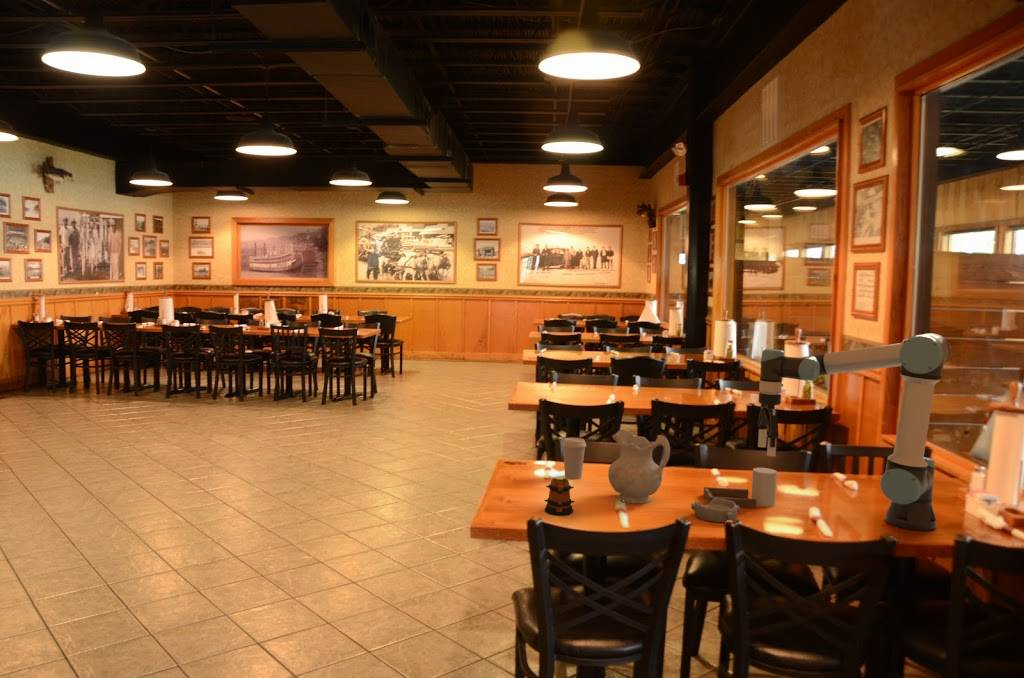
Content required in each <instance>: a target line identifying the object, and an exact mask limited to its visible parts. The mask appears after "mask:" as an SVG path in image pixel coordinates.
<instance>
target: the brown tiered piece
mask: <svg viewBox="0 0 1024 678" xmlns="http://www.w3.org/2000/svg"><path fill="white" fill-rule="evenodd" d="M545 487H546V488H548V489H549V493H548V497H547V499H544V502H547V503H546V505H545V507H544V512H545V514H548V515H550V516H556V517H565V516H567V517H568V516H571V515H573V514H574V508H573V506H572V503H575V501H574V500H572V499H571V492H570V491H571V490H572V489H574V488H575V486H571V485H570V481H569V479H568V478H562V479H561V478H560V479H558V478H555V477H553V478H551V481H550V484H548V485H545Z"/></svg>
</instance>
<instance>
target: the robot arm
mask: <svg viewBox="0 0 1024 678" xmlns="http://www.w3.org/2000/svg"><path fill="white" fill-rule="evenodd" d="M951 351H952V350H951V345H950V343H949V342H948V340H947V339H946V338H945V337H943V336H942V335H940V334H936V333H930V332H929V333H924V334H917V335H916V334H915V335H914V336H911V337H909V338H906V339H903V340H902V341H901V342H899V343H892V344H884V345H878V346H871V347H870V346H869V347H863V348H856V349H849V350H842V351H841V350H840V351H834V352H827V353H820V354H810V355H807V356H802V357H794V356H786V355H785V352H784V350H783V349H775V348H766V349H765V348H764V349H763V350H762V351H761V358H760V377H759V385H758V386H759V387H758V391H759V393H758V403H759V404H760V410H759V416H758V420H757V426H758V437H757V438H758V439H757V447H758V448H767V450H766V456H767V457H776V456H777V455H776V453H777V452H776V450H777V438H779V437H780V436H779V417H778V413H779V410H778V409H777V408H776V407H775V406H779V405H781V404H782V403H781V402H782V394H781V393H782V387H784V383H783V378H785V379H793V380H801V381H805V382H807V381H808V382H810V381H811V382H812V381H813V382H815V381H816V380H818V378H819V376H827V375H834V374H835V375H836V374H843V373H844V374H845V373H851V372H861V371H868V370H870V371H871V370H878V369H886V368H887V369H888V368H896V367H900V371H899V375H900V377H902V379H903V386H902V387H903V388H902V395H901V399H900V400H901V401H900V408H899V414H898V420H897V426H896V427H897V428H896V435H895V441H894V448H893V453H891V454H890V455H888V456H887V459H886V465H885V471H884V473H883V474H882V476H881V478H880V484H879V485H880V490H881V491H882V494H883V495H884V496H885V497H886V498H887V499H888V500H889V501H890V503H889V506H888V508H887V511H886V512H885V521H886V522H887V523H889V524H890V525H893V526H895V527H899V528H903V529H906V530H907V529H908V530H912V529H915V530H914V531H932V530H931V529H933V530H935V529H936V528H937V519H936V518H937V517H936V514H935V511H934V510H935V509H934V508H933V494H934V493H933V491H934V483H935V482H934V480H935V470H936V463H935V462H936V461H935V460H934V459H932V458H931V457H925V451H926V444H927V436H928V430H929V426H930V424H929V423H930V417H931V413H932V412H931V410H932V405H933V399H934V394H935V393H934V391H935V385H936V384H938V383H939V382H940V381H942V377H943V370H944V366H945V364H947V362H948V361H949V360H950V357H951V354H952V352H951ZM934 528H935V529H934Z"/></svg>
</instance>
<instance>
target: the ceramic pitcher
mask: <svg viewBox="0 0 1024 678" xmlns="http://www.w3.org/2000/svg"><path fill="white" fill-rule="evenodd" d="M612 439H613V440H614V441H615V442H616V443H617V444H618V446H619V449H620V453H619V454H620V455H619V457H618V458H617V459H616V460H615V461H613V462H612V463H611V464H610V465H609V467H608V480H609V481H608V482H609V483H610V485H611V487H612V488H613V490H614V491H615V492H617V493H619V495H618V499H619V500H620V499H622V500H624V501H625V503H627V504H631V505H632V504H649V503H650V502H651V501H652V499H651V498H650V496H652V495H654V494H655V493H656V492H657V491H658V489H659V488H660V486H661V485H662V481H663V470H664V468H665V467H666V466H667V464H668V462H669V460H670V456H671V455H670V454H671V446H670V443H669V440H668V437H667V436H666V435H664V434H658V435H656V439H655V441H649V440H648V439H647V438H646V437H645V436H637V435H636V436H635V435H633V433H632V432H631V431H627V430H626V429H620V430H617V432H616V433H614V434H612ZM659 446H662V447H663V450H664V452H663V453H664V454H663V456H662V458H661V460H660V462H659V465H658V464H657V463H656V462H655V461H654V459H653V451H654V449H656V448H657V447H659ZM624 501H623V502H624Z"/></svg>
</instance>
